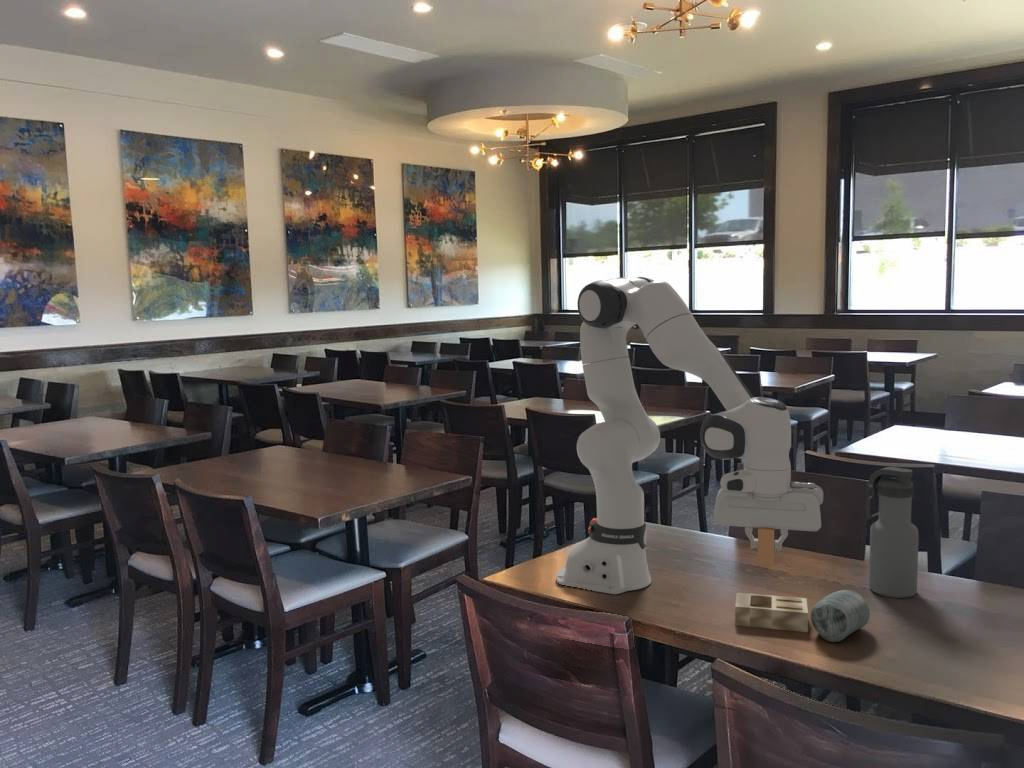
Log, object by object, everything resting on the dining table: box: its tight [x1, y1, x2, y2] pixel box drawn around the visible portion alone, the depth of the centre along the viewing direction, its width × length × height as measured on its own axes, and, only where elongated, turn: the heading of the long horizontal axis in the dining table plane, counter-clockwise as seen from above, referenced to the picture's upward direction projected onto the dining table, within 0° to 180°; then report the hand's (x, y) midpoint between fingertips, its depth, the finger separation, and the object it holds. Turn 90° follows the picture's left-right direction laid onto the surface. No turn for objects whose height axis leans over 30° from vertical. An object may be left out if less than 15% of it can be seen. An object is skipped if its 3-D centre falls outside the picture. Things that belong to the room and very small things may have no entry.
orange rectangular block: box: [757, 528, 775, 566], centre depth 159 cm, size 3×5×7 cm, turn 162°
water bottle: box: [866, 466, 920, 599], centre depth 180 cm, size 10×10×28 cm
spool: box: [810, 589, 871, 643], centre depth 159 cm, size 14×10×10 cm
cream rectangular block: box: [734, 592, 809, 633], centre depth 166 cm, size 14×8×4 cm, turn 72°
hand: (766, 549), depth 160 cm, fingers closed on orange rectangular block, 3 cm apart
